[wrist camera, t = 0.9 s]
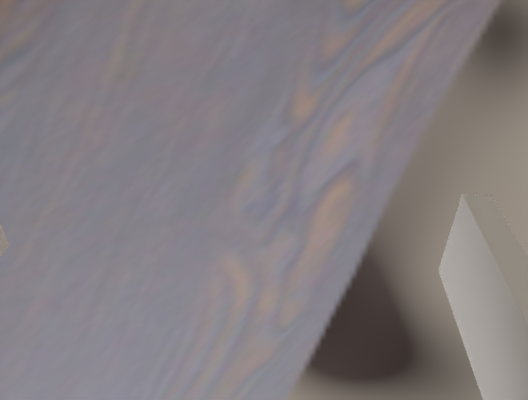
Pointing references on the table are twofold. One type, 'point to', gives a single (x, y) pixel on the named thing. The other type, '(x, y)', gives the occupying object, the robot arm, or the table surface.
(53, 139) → the table surface
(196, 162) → the table surface
